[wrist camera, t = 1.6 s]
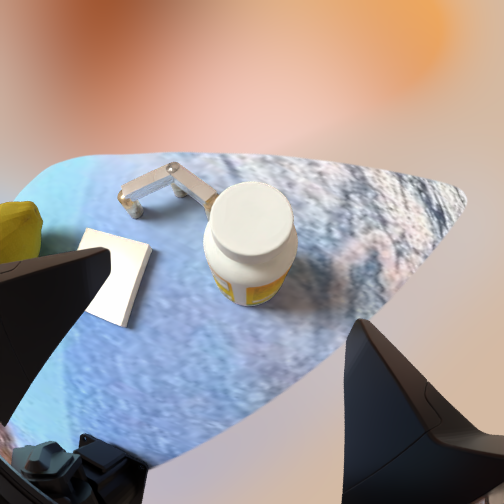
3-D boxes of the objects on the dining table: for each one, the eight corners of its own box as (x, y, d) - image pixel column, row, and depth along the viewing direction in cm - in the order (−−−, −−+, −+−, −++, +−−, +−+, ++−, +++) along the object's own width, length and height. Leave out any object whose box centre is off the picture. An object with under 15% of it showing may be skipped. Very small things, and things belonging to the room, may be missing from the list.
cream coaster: (126, 327, 20) (120, 326, 19) (65, 301, 21) (59, 298, 20) (152, 248, 23) (148, 244, 22) (91, 232, 23) (86, 227, 22)
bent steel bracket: (217, 238, 23) (212, 217, 20) (127, 217, 24) (112, 197, 20) (232, 194, 24) (230, 170, 21) (146, 178, 25) (134, 155, 22)
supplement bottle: (207, 297, 21) (177, 252, 12) (226, 235, 23) (214, 161, 14) (274, 315, 21) (295, 283, 12) (290, 251, 23) (315, 183, 14)
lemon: (2, 310, 20) (-49, 290, 12) (0, 249, 22) (-43, 220, 15) (68, 275, 22) (13, 242, 14) (60, 210, 24) (19, 168, 17)
